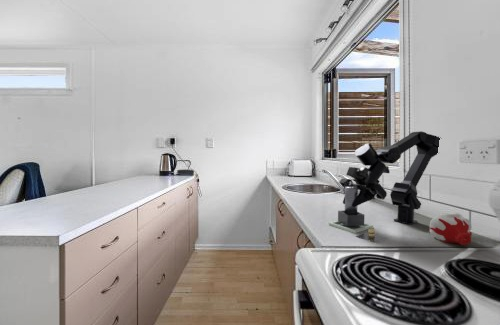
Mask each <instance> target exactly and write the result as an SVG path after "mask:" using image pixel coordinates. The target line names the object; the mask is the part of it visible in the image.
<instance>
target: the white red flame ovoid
mask: <svg viewBox="0 0 500 325" xmlns="http://www.w3.org/2000/svg"><path fill="white" fill-rule="evenodd" d="M428 228H429V233H430V235H431V236H432V237H433V238H434V239H437V240H438V241H441V242H444V243H449V244H456V245H457V244H459V245H460V246H461V245H462V246H463V245H464V246H466V245H468V244H470V243H471V242H472V237H471V236H472V235H473V232H472V231H471V230H472V223H471V222H470V220H469V219H468V218H466V217H465V216H463V215H462V214H460V213H458V212H457V213H456V212H455V213H446V212H445V213H444V212H443V213H441V214H438V215H436V216H435V217H433V218H432V219H431V220H430V223H429V227H428Z"/></svg>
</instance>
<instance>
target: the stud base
mask: <svg viewBox="0 0 500 325" xmlns="http://www.w3.org/2000/svg"><path fill="white" fill-rule="evenodd" d="M354 237H356V238H359V239H361V240H364V241H368V242H371V243H374V244H378V243H381V242H384V241H386V240H388V237H384V236H380V235H378V234H376V230H375V229H374V227H373V228H369V229H367V232H365V233H361V234H359V235H358V234H357V235H356V236H354Z"/></svg>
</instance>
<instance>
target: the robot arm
mask: <svg viewBox="0 0 500 325" xmlns="http://www.w3.org/2000/svg"><path fill="white" fill-rule="evenodd" d="M439 137H440V136H437V135H433V134H430V133H428V132H425V131H412V132H410V133H409V134H407V136H405V137H403V138H401V139H400V140H398V141H397V142H395V143H393V144H390V145H388V146H383V147H380V148H377V149H376V150H375V149H374V147H373V145H372V144H371V143H364V144H363V145H362V146H360V147H358V148H356V150H355V151H354V155H355V156H356V158H357V159H358V160H359V161H360V163H361V164H362V165H363V166H364V167H363V166H362V167H355V166H354V167H353V166H348V169H347V172H346V176H349V177H351V178H352V179H349V178H341V179H340V181H339V182H338V183H339V184H340V186H342V188H343V189H344V190H345V187H358V191H359V192H358V196H357V197H356V199H355V200H354V202H353V204H352V206H353V207H356V206H360V205H362V204H364V203H366V202H369V201H372V200H375V199H376V198H377V199H378V200H385V199H386V197H387V195H388V193H387V191H386V190H385V188H384V187H383V186H382V185H381V183H380V182H381V181H380V178H381V177H382V175H383V174H390V169H389V168H390V167H389V166H388V165H386V164H395V163H397V162H398V160H399V159H401V156H402V154H404V153H405V152H406V151H408V150H410V149H411V148H413V147H415V146H416V152H417V155H416V156H415V157H414V160H413V162H412V163H411V166H410V167H409V168H408V170H407V173H406V174H405V176H404V178H403V180H402V181H401V182H397V181H395V183H394V184H393V187H392V188H391V189H390V200H391V203H392V206H396V207H397V217H396V218H394V219H393V222H399V223H402V224H406V225H414V224H415V223H418V220H417V219H415V210H419V209H421V205H422V203H421V201H420V200H419V198H418V189H417V186H418V184H419V182H420V180H421V178H422V176H423V175H424V173H425V170H426V169H427V167H428V165H429V163H430V161H431V159H432V158H434V157H435V156H437V155H438V154H439V153H438V147H439V140H440V138H441V137H440V138H439ZM437 153H438V154H437ZM365 166H367V167H365ZM354 182H355V183H354ZM342 204H343V205H345V196H344V197H343V201H342Z"/></svg>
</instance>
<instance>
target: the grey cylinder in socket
mask: <svg viewBox="0 0 500 325" xmlns="http://www.w3.org/2000/svg"><path fill="white" fill-rule="evenodd" d="M358 194H359V190H358V187H345V189H344V197H345V204H344V210H338V211H337V221H339V222H341V223H340V224H342V225H343V226H345V227H360V226H361V227H365V226H364V223H365V214H363V213H361V212H359V211H358V206H359V205H358V206H356V207H353V206H352V204H353V202H354V200H355V199H356V197H357V196H358Z"/></svg>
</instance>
